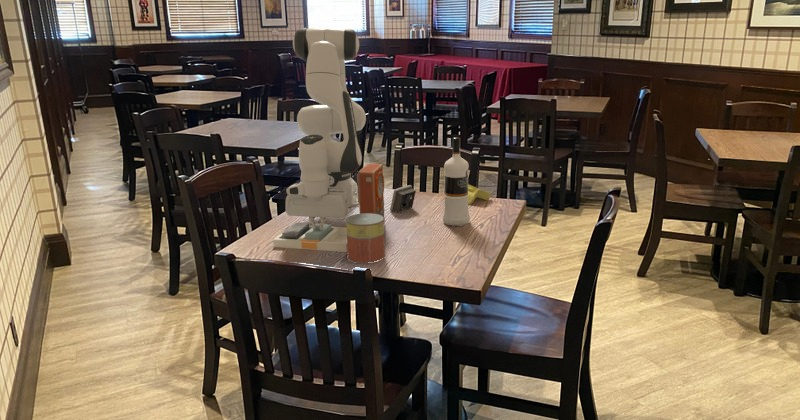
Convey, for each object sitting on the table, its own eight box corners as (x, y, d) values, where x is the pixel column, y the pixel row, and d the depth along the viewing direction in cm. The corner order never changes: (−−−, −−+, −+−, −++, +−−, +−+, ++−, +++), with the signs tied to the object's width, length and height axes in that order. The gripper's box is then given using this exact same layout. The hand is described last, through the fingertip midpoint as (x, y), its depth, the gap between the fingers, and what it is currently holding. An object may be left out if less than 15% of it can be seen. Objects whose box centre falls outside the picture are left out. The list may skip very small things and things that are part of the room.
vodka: (449, 217, 217) (449, 134, 208) (473, 220, 212) (474, 136, 204) (438, 224, 209) (438, 138, 200) (463, 228, 204) (463, 140, 196)
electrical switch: (406, 206, 232) (407, 183, 229) (416, 209, 229) (417, 186, 226) (389, 212, 225) (390, 188, 222) (399, 215, 222) (400, 191, 219)
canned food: (367, 247, 188) (365, 210, 185) (393, 255, 181) (391, 217, 177) (339, 257, 181) (337, 219, 177) (365, 266, 173) (363, 227, 170)
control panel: (387, 222, 212) (377, 236, 198) (368, 222, 214) (356, 235, 200) (385, 163, 206) (374, 173, 192) (365, 162, 208) (353, 172, 194)
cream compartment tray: (293, 232, 204) (293, 223, 203) (362, 237, 198) (361, 227, 197) (273, 248, 190) (272, 238, 189) (346, 253, 184) (346, 243, 183)
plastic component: (493, 195, 236) (476, 188, 230) (486, 212, 237) (469, 205, 231) (462, 181, 252) (445, 174, 246) (455, 198, 252) (438, 191, 246)
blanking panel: (319, 235, 200) (318, 223, 199) (331, 235, 199) (331, 224, 197) (305, 246, 190) (305, 234, 188) (319, 247, 188) (318, 235, 187)
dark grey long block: (297, 233, 201) (296, 222, 200) (309, 234, 200) (308, 223, 199) (283, 244, 191) (282, 233, 190) (296, 245, 190) (295, 233, 189)
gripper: (350, 186, 189) (352, 228, 193) (290, 184, 194) (293, 225, 198) (343, 191, 183) (345, 234, 187) (281, 189, 188) (285, 231, 192)
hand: (318, 229), depth 192 cm, fingers closed, pressing on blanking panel
